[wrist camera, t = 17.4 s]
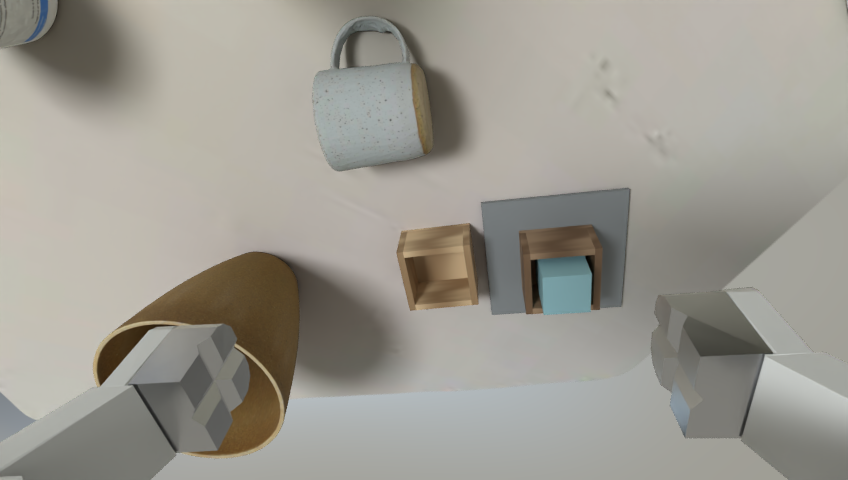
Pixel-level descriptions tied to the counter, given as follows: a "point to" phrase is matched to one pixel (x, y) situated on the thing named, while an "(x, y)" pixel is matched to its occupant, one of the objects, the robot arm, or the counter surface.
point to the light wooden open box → (438, 267)
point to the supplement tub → (25, 20)
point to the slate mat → (551, 212)
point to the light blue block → (564, 284)
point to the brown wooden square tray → (557, 246)
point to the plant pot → (254, 328)
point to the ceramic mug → (371, 106)
